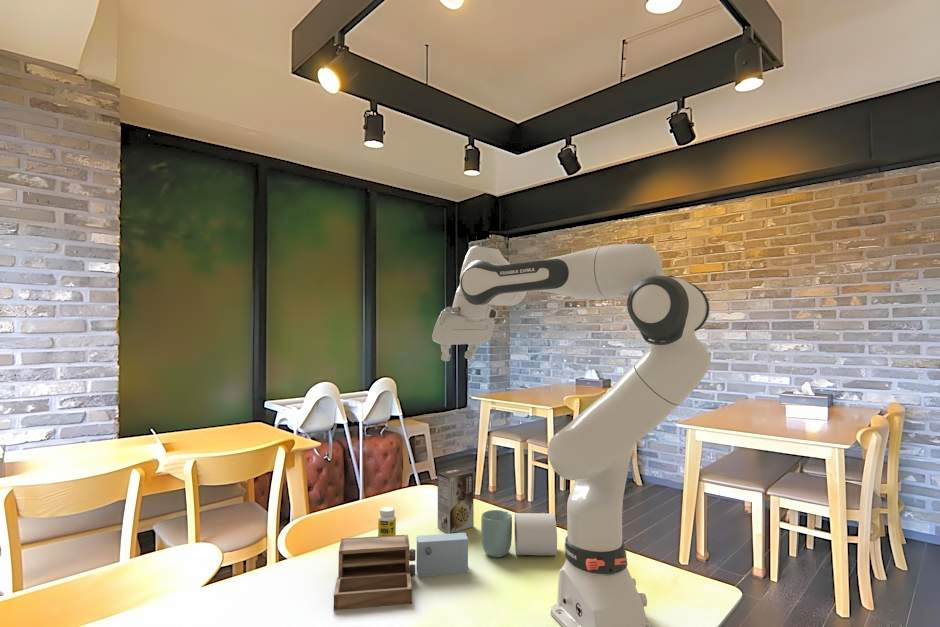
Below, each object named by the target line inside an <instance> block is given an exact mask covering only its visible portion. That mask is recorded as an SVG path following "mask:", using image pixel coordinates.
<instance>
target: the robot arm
mask: <svg viewBox="0 0 940 627" xmlns="http://www.w3.org/2000/svg"><path fill="white" fill-rule="evenodd" d="M661 259H662V258H661V256H660V254H659V252H658V251H657V250H656V249H655V248H654V247H652V246H651V245H649V244H646V243H645V244H644V243H619V244H609V245H602V246H601V245H600V246H595V247H592V248H586V249H584V250H583V249H582V250H578V251H574V252H570V253H567V254H562V255H559V256H554V257H551V258H544V259H539V260H534V261H526V262H525V261H524V262H518V263H517V262H515V263H510V262H509V261H508V260H507V259H506V258H505V257H504V256H503V255H502V252H501V251H500V249H499V248H497V247H494V246H489V245H479V244H477V245H472V246H470V247H469V249H468V251H467V252H466V255H465V257H464V260H463V263H462V266H461V269H460V275H459V285H458V287H457V289H456V291H455V295H454V298H453V302H452V306H447V307H445V308H444V309H443V310H441V312H440V315H439V316H438V318H437V320H436V322H435V325H434V327H433V331H432V335H431V339H432V341H433V342H434V343H436V344H438V345H440V349H441V356H440V359H441V361H443V362H449V361H451V357H452V355H451V353H450V349H451V347H452V345H453V346H455V345H469V347H468V349H467V350H466V351H465V352H464V355H463V356H464V357H463V358H465V359H467V360H473V359H474V354H475V353H476V351H477V350H478V349H479V347H480V344H488V343H489V341H490V340H491V338H492V335H493V331H494V329H495V328H494V327H495V324H496V322H495V319H497V318H498V315H499V311H498V310H497V309H495V308H493V307H492V306H498V307H499V306H501V307H513V306H517V305H519V304H521V303H522V302H523V301H524V300H525V298H526V297H527V294H528V293H529V292H544V293H551V294H555V295H561V296H565V297H570V298H575V299H584V300H596V301H598V300H599V301H600V300H601V301H602V300H609V299H611V300H612V299H620V298H627V303H626V307H627V313H628V315H629V317H630V320H632V322H633V323H634V326H636V328H637V330H638V331H639V333H640V334H641V336H642V338H643V340H644V341H645V342H646V343H648V344H649V347H648V349H647V350H646V351H645V352H644V353H643V355H642V356H641V357H640V358H639V359H638V360H637V361H636V362H634V364H633V365H632V366H631V367H630V368H629V369H627V371H626V372H625V373H624V374H623V375H622V376H621V377H620V378H619V379H618V380H617V381H616V382H615V383H614V384H613V386H611V387H610V389H608V390H607V391H606V392H605V393H603V395H602V396H600V397H599V398H598V399H596V400H595V401H594V402H592V403H591V404H590V405H589V406H587V407H586V409H584V410H583V411H582V412H580V413H579V414H578V415H577V416H575V417H574V419H572V420H571V421H570V422H569V423H568V424H567V425H565V426H564V427H563V428H562V429H560V430H559V431H558V432H556V434H554V435H553V436H552V438H551V439H550V440H549V443H548V446H547V457H548V461H549V464H550V466H551V468H552V469H553V471H554V472H555V473H556V474H557V475H558V476H559V477H561V478H563V479H564V480H565V479H566V480H569V481H574V483H573V487H572V489H571V492H570V493H569V495H568V497H567V498H568V499H567V503H566V510H567V511H566V513H567V514H566V515H567V517H566V519H567V520H566V522H567V523H566V524H567V525H566V526H567V528H566V529H567V530H566V531H567V534H566V535H567V536H566V537H565V543H564V556H565V558H566V559H565V561H564V563H563V565H562V567H560V570H559V571H558V578H557V579H558V580H557V581H558V582H557V599H556V603H555V604H553V605H552V606H551V608H550V615H551V616H552V618H553V619H555V621H557V623H558V624H560V626H562V627H652V625H651V623H650V622H649V619H648V618H647V617H646V616H647V615H646V611H645V608H646V607H647V605H648V600H647V594H645V593H643V592H638V589H637V582H636V578H634V577H632V575H631V573H630V571H629V569H628V558H627V552H626V548H625V544H624V542H623V505H624V504H623V502H624V495H625V488H626V483H627V479H628V473H629V467H630V462H631V458H632V454H633V453H634V450H635V448H636V444H637V442H639V441H640V440H642V439H643V438H644V437H646V436H647V435H648V434H650V433H651V432H653V430H655V428H657V426H659V425H660V424H661V423H662V422H663V421H664V420H665V419H666V418H667V417H668V416H669V415H670V414H671V413H672V412H673V411H675V409H677V408H678V407H679V406H680V405H681V404H682V403H683V402H684V401H685V400H686V399H687V398H688V397H689V395H691V394H692V392H693V391H694V390H695V389H696V388H697V386H698V385H699V384H700V383H701V381H702V379H704V377H705V376H706V374H707V372H708V371H709V369H710V367H711V363H712V362H711V356H710V354H709V351H708V349H707V348H706V347H705V345H704V344H703V343H702V342H701V341H700V340H699V339H698V338H697V336H696V331H698V330H700V328H702V327H703V326H704V325H705V323H706V322H707V320H708V318H709V315H710V301H709V299H708V298H707V295H706V294H705V292H704V291H703V290H701V288H699V286H696V285H695V284H693V283H691V282H689V281H686V280H685V279H683V278H679V277H676V276H674V275H668V276H667V275H666V274H665V273H664V270H663V263H662V260H661Z"/></svg>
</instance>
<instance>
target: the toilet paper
mask: <svg viewBox="0 0 940 627" xmlns="http://www.w3.org/2000/svg"><path fill="white" fill-rule="evenodd" d="M513 523H514V528H513V529H514V530H513V531H514V550H515V555H516V556H557V553H558V531H557V530H558V528H557V521H556V515H555V513H543V512H539V513H537V512H536V513H530V512H529V513H527V512H526V513H525V512H524V513H523V512H521V513H520V512H515V513H514V522H513Z"/></svg>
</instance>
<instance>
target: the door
mask: <svg viewBox="0 0 940 627" xmlns="http://www.w3.org/2000/svg"><path fill="white" fill-rule="evenodd" d="M416 574H417V577H418V578H419V577H431V576H445V575H458V574H460V575H461V574H469V538H468V536H467V533H466V532H455V533H452V534H449V533H440V534H438V533H437V534H423V535H421V534H420V535H416Z"/></svg>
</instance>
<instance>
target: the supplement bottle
mask: <svg viewBox="0 0 940 627" xmlns="http://www.w3.org/2000/svg"><path fill="white" fill-rule="evenodd" d="M395 512H396V511H395V508H394V507H392V506H384V507H381V508H380V509H379V515H378V524H377V526H378V527H377V528H378V530H377V532H378V533H377V537H378V536H394V535H397V534H396V532H397V531H396V529H397V528H396V526H397V524H396V523H397V516H396V515H395Z"/></svg>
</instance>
